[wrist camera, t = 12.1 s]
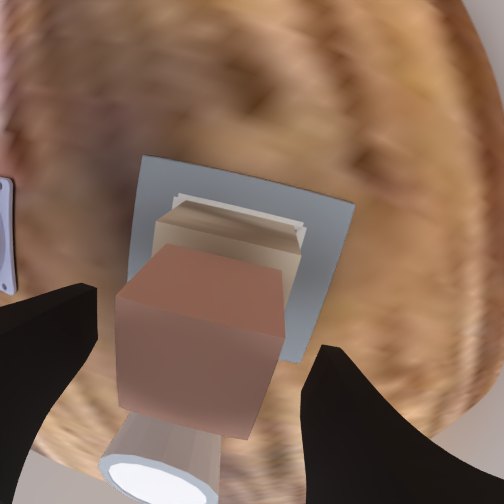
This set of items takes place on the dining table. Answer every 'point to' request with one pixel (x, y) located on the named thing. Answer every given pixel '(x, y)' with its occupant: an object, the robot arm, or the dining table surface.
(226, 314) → the top block
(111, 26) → the dining table surface
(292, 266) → the base block
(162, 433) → the grey cylinder
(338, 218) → the base plate
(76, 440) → the dining table surface
